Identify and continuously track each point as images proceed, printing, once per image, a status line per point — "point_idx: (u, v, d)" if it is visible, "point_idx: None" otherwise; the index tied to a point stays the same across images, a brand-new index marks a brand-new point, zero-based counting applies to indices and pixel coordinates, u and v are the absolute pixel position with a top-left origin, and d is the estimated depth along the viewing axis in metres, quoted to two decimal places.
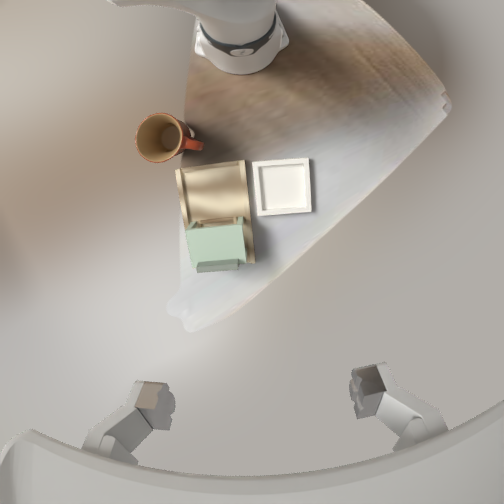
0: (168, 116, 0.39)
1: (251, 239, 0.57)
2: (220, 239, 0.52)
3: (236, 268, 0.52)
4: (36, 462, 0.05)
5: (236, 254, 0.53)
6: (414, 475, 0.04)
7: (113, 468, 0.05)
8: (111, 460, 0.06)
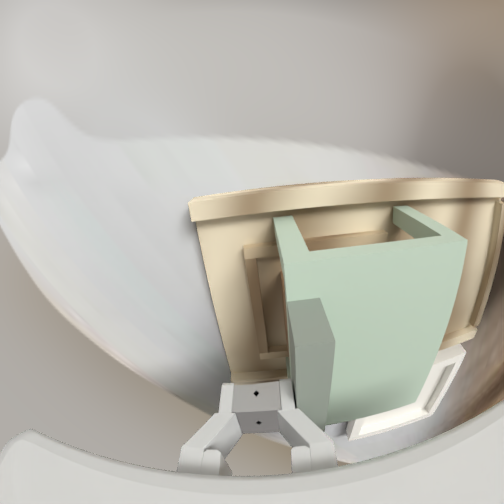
0: None
1: None
2: (397, 368, 0.11)
3: None
4: (36, 462, 0.05)
5: (330, 410, 0.12)
6: (414, 475, 0.04)
7: (113, 468, 0.05)
8: (111, 460, 0.06)
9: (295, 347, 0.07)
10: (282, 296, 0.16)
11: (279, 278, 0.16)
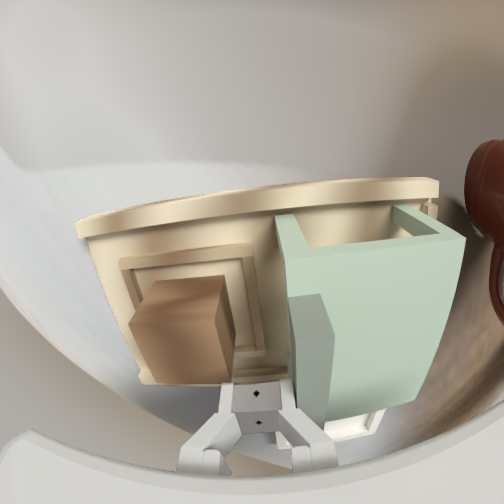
0: None
1: (203, 384, 0.19)
2: (397, 365, 0.11)
3: None
4: (36, 462, 0.05)
5: (330, 407, 0.13)
6: (414, 475, 0.04)
7: (113, 468, 0.05)
8: (111, 460, 0.06)
9: (295, 341, 0.08)
10: None
11: None
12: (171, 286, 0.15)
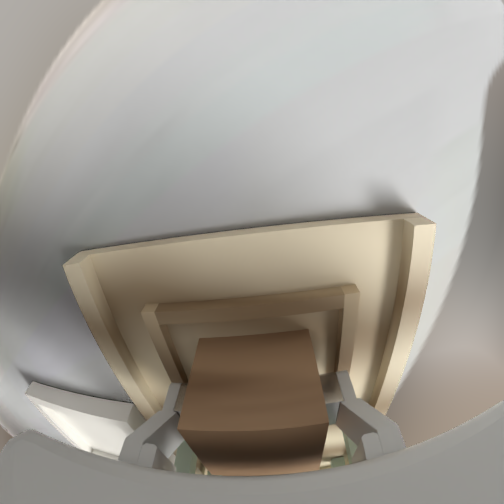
0: None
1: (115, 368, 0.11)
2: None
3: None
4: (36, 462, 0.05)
5: None
6: (414, 475, 0.04)
7: (113, 468, 0.05)
8: (111, 460, 0.06)
9: None
10: (268, 335, 0.10)
11: (296, 328, 0.11)
12: None
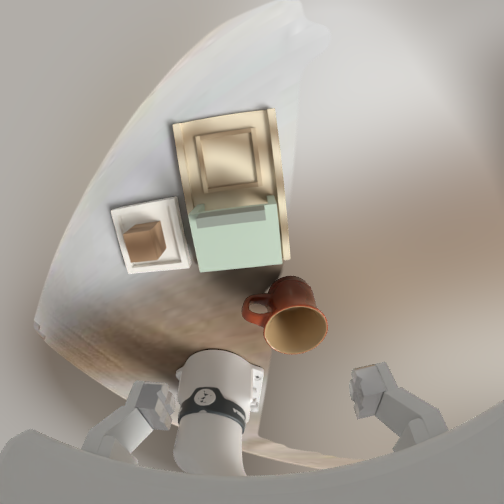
0: (281, 350, 0.37)
1: (180, 162, 0.35)
2: (229, 251, 0.35)
3: (198, 220, 0.31)
4: (36, 462, 0.05)
5: (204, 229, 0.34)
6: (414, 475, 0.04)
7: (113, 468, 0.05)
8: (111, 460, 0.06)
9: (264, 210, 0.30)
10: (150, 222, 0.39)
11: (239, 142, 0.35)
12: (160, 231, 0.39)
